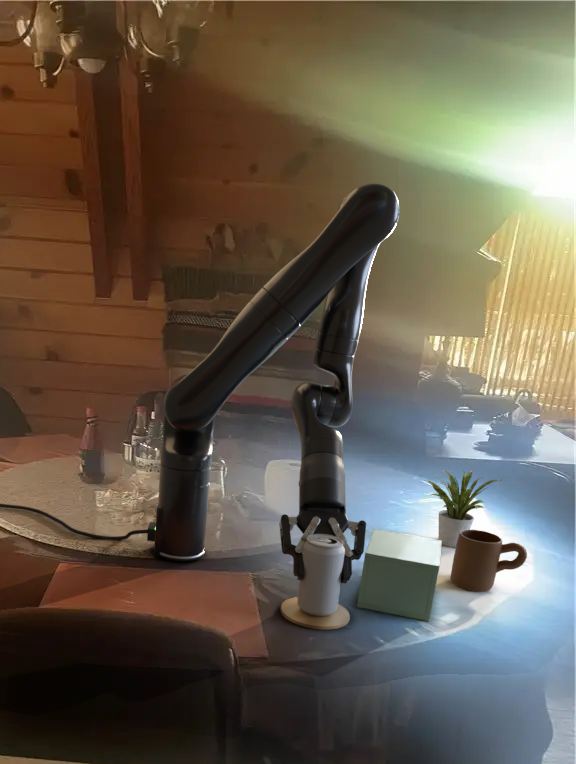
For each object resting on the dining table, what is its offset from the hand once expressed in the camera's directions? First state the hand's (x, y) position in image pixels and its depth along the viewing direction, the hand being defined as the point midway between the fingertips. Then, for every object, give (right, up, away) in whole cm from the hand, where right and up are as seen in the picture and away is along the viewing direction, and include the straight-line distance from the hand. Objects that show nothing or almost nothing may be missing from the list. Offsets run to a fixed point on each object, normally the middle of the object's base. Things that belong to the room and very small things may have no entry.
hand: (322, 579), depth 118 cm
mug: (+33, -3, +20) cm, 39 cm away
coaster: (-1, -6, +3) cm, 7 cm away
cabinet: (+15, -4, +12) cm, 19 cm away
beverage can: (0, -5, +3) cm, 6 cm away
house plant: (+36, +4, +43) cm, 56 cm away
